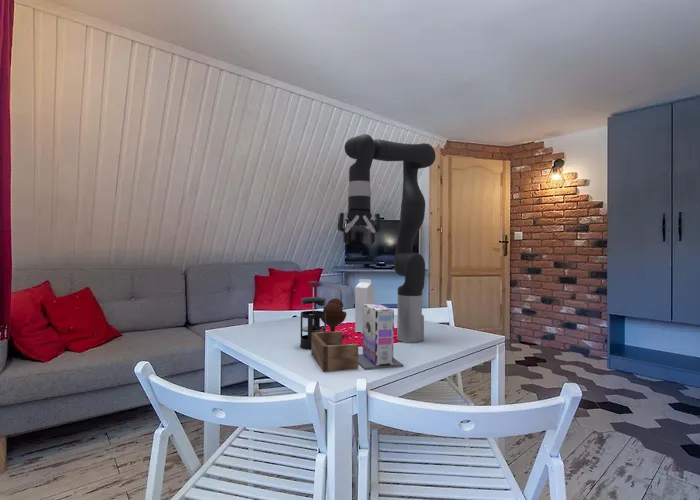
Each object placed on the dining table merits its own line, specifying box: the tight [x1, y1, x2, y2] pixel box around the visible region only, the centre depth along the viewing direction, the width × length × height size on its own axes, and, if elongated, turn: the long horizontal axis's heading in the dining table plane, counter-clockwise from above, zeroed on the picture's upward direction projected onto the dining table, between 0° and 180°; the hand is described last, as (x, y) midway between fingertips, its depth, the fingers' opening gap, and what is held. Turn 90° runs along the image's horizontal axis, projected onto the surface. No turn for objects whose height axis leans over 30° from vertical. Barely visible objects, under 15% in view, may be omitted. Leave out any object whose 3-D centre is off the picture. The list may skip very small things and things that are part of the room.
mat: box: [358, 353, 404, 371], centre depth 121 cm, size 12×14×1 cm
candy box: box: [362, 303, 395, 366], centre depth 122 cm, size 14×6×16 cm, turn 14°
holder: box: [310, 330, 359, 373], centre depth 122 cm, size 10×19×7 cm, turn 16°
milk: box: [354, 278, 376, 334], centre depth 164 cm, size 6×6×22 cm
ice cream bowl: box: [320, 297, 347, 332], centre depth 156 cm, size 11×11×15 cm
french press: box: [299, 280, 327, 351], centre depth 140 cm, size 12×9×23 cm
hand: (359, 244), depth 132 cm, fingers open, 8 cm apart
